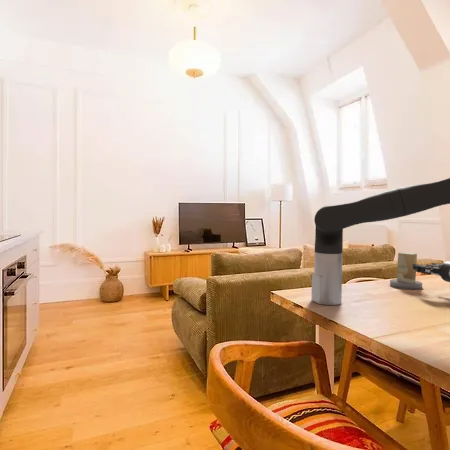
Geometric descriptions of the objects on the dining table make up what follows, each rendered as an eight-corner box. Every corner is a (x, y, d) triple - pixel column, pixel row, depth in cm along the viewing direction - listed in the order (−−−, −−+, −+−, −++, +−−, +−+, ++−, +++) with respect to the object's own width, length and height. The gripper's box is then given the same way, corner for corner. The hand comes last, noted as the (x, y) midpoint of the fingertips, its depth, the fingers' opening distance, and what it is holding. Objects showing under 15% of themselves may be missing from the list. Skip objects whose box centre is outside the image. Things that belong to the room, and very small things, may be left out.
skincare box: (396, 281, 144) (397, 252, 143) (400, 279, 147) (400, 251, 146) (412, 283, 139) (413, 254, 139) (416, 282, 142) (417, 253, 142)
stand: (403, 290, 136) (403, 285, 136) (383, 284, 148) (383, 279, 148) (429, 289, 139) (429, 284, 138) (407, 282, 150) (407, 278, 150)
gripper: (476, 262, 120) (438, 256, 136) (442, 263, 117) (407, 257, 133) (475, 283, 120) (437, 274, 136) (441, 284, 117) (406, 276, 133)
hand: (422, 266), depth 134 cm, fingers open, 8 cm apart
